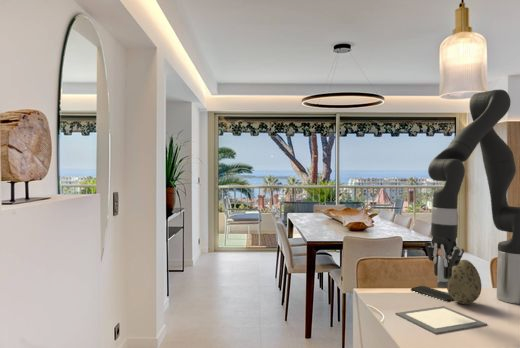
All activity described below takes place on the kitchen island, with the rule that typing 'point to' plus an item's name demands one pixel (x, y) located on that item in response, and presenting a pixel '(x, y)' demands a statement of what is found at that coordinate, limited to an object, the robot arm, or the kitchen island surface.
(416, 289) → the phone
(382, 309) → the kitchen island surface
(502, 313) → the kitchen island surface
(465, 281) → the decorative egg
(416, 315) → the writing mat
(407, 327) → the kitchen island surface
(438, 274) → the marker
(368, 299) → the kitchen island surface
